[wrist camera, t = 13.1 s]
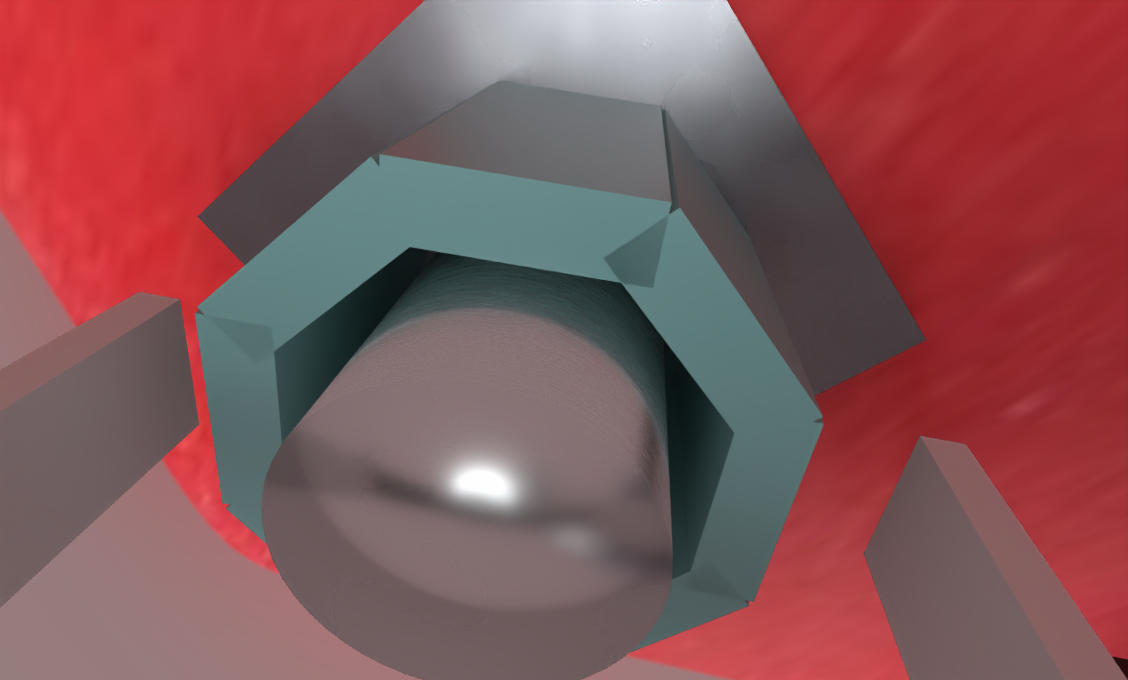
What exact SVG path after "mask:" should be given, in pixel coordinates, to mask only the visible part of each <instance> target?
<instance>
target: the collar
mask: <svg viewBox="0 0 1128 680" xmlns="http://www.w3.org/2000/svg"><path fill="white" fill-rule="evenodd" d="M425 250H431V251H437V252H443V253H448V254H454V255H460V256H466V257H472V258H478V259H484V260H490V261H496V262H501V263H507V264H513V265H519V266H525V267H531V268H537V269H543V270H548V271H554V272H560V273H566V274H572V275H578V276H584V277H590V278H596V279H601V280H607V281H613V282H619V283H622V284H623V286H624V287H625V288H626V290H627V291H628V292H629V294H630V295H631V296H632V298H633V299H634V300H635V302H636V303H637V304H638V305H639V307H640V308H641V309H642V311H643V312H644V313H645V315H646V316H647V317H648V319H649V320H650V321H651V323H652V324H653V325H654V327H655V328H656V329H657V331H658V332H659V333H660V335H661V336H662V337H663V339H664V340H665V341H666V343H667V344H668V345H669V347H670V348H671V349H672V350H671V351H670V352H668V353H666V354H664V367H665V390H666V413H667V436H668V459H669V482H670V504H671V527H672V550H673V570H672V581H671V586H670V591H669V596H668V598H667V601H666V603H665V606H664V608H663V611H662V613H661V615H660V617H659V618H658V620H657V622H656V623H655V625H654V626H653V628H652V630H651V631H650V632H649V633H648V634H647V636H646V637H645V638H644V639H643V640H642V641H641V642H640V644H639V645H638V646H637V647H635V648H634V649H633V650H632V651H635V650H638V649H640V648H643V647H645V646H648V645H650V644H653V643H655V642H658V641H660V640H663V639H666V638H668V637H671V636H673V635H676V634H678V633H681V632H683V631H686V630H689V629H691V628H694V627H696V626H699V625H701V624H704V623H706V622H709V621H711V620H714V619H717V618H719V617H722V616H724V615H727V614H729V613H732V612H734V611H737V610H740V609H742V608H745V607H747V606H749V602H748V601H752V602H754V600H755V597H756V594H757V592H758V589H759V587H760V584H761V582H762V579H763V577H764V574H765V572H766V569H767V567H768V564H769V562H770V559H771V557H772V554H773V551H774V549H775V546H776V544H777V541H778V539H779V536H780V534H781V531H782V529H783V526H784V524H785V521H786V519H787V516H788V514H789V511H790V509H791V506H792V503H793V501H794V498H795V496H796V493H797V491H798V488H799V486H800V483H801V481H802V478H803V476H804V473H805V471H806V468H807V466H808V463H809V460H810V458H811V455H812V453H813V450H814V448H815V445H816V443H817V440H818V438H819V435H820V433H821V430H822V428H823V425H824V423H823V420H822V417H823V415H822V413H821V410H820V408H819V405H818V403H817V400H816V398H815V396H814V393H813V391H812V388H811V386H810V383H809V381H808V379H807V376H806V374H805V371H804V369H803V366H802V364H801V362H800V359H799V357H798V354H797V352H796V349H795V347H794V345H793V342H792V340H791V337H790V335H789V332H788V330H787V328H786V325H785V323H784V320H783V318H782V315H781V313H780V310H779V308H778V306H777V303H776V301H775V298H774V296H773V293H772V291H771V289H770V286H769V284H768V281H767V279H766V276H765V274H764V272H763V269H762V267H761V264H760V262H759V259H758V257H757V255H756V252H755V250H754V247H753V245H752V242H751V240H750V238H749V236H748V234H747V233H746V231H745V230H744V228H743V227H742V225H741V224H740V222H739V220H738V219H737V217H736V216H735V214H734V213H733V211H732V210H731V208H730V207H729V205H728V204H727V202H726V201H725V199H724V198H723V196H722V195H721V193H720V192H719V190H718V188H717V187H716V185H715V184H714V182H713V181H712V179H711V178H710V176H709V175H708V173H707V172H706V170H705V169H704V167H703V166H702V164H701V163H700V161H699V160H698V158H697V156H696V155H695V153H694V152H693V150H692V149H691V147H690V146H689V144H688V143H687V141H686V140H685V138H684V137H683V135H682V134H681V132H680V131H679V129H678V128H677V126H676V124H675V123H674V121H673V120H672V118H671V117H670V115H669V114H668V112H667V111H666V109H665V110H663V111H661V106H657V105H651V104H645V103H639V102H632V101H626V100H620V99H614V98H607V97H601V96H595V95H589V94H582V93H576V92H570V91H564V90H557V89H551V88H545V87H539V86H533V85H526V84H520V83H514V82H508V81H499V82H497V83H496V82H495V83H493V84H491V85H490V86H488V87H486V88H485V89H483V90H481V91H480V92H478V93H476V94H475V95H473V96H471V97H470V98H468V99H466V100H465V101H463V102H461V103H459V104H458V105H456V106H454V107H453V108H451V109H449V110H448V111H446V112H444V113H443V114H441V115H439V116H438V117H436V118H434V119H433V120H431V121H429V122H428V123H426V124H424V125H423V126H421V127H419V128H418V129H416V130H414V131H413V132H411V133H409V134H408V135H406V136H404V137H403V138H401V139H399V140H398V141H396V142H394V143H393V144H391V145H389V146H387V147H386V148H384V149H382V150H381V151H379V152H377V153H376V154H374V155H372V156H371V157H370V158H368V159H367V160H366V161H365V162H364V163H363V164H362V165H360V166H359V167H358V168H357V169H356V170H355V171H353V172H352V173H351V174H350V175H349V176H348V177H346V178H345V179H344V180H343V181H342V182H341V183H340V184H338V185H337V186H336V187H335V188H334V189H333V190H331V191H330V192H329V193H328V194H327V195H326V196H325V197H323V198H322V199H321V200H320V201H319V202H318V203H316V204H315V205H314V206H313V207H312V208H311V209H310V210H308V211H307V212H306V213H305V214H304V215H303V216H301V217H300V218H299V219H298V220H297V221H296V222H295V223H293V224H292V225H291V226H290V227H289V228H288V229H286V230H285V231H284V232H283V233H282V234H281V235H279V236H278V237H277V238H276V239H275V240H274V241H273V242H271V243H270V244H269V245H268V246H267V247H266V248H264V249H263V250H262V251H261V252H260V253H259V254H258V255H256V256H255V257H254V258H253V259H252V260H251V261H249V262H248V263H247V264H246V265H245V266H244V267H243V268H241V269H240V270H239V271H238V272H237V273H236V274H234V275H233V276H232V277H231V278H230V279H229V280H228V281H226V282H225V283H224V284H223V285H222V286H221V287H219V288H218V289H217V290H216V291H215V292H214V293H212V294H211V295H210V296H209V297H208V298H207V299H206V300H204V301H203V302H202V303H201V304H200V305H199V306H197V308H198V309H199V311H197V312H196V313H195V319H196V325H197V332H198V339H199V346H200V353H201V360H202V366H203V373H204V380H205V387H206V394H207V400H208V407H209V414H210V421H211V428H212V435H213V441H214V448H215V455H216V462H217V469H218V476H219V482H220V489H221V496H222V503H224V504H229V505H228V506H227V508H226V509H227V510H228V511H229V512H231V513H232V514H233V515H234V516H235V517H236V518H237V519H239V520H240V521H241V522H242V523H243V524H244V525H246V526H247V527H248V528H249V529H250V530H251V531H253V532H254V533H255V534H256V535H257V536H258V537H259V538H261V539H262V540H263V541H264V542H265V543H266V539H265V534H264V529H263V524H262V506H261V500H262V493H263V487H264V481H265V478H266V475H267V472H268V469H269V467H270V464H271V461H272V460H273V458H274V456H275V454H276V453H277V451H278V449H279V448H280V446H281V444H282V443H283V442H284V440H285V439H286V438H287V437H288V435H289V434H290V433H291V432H292V430H293V429H294V428H295V427H296V426H297V424H298V423H299V422H300V421H301V419H302V418H303V417H304V416H305V414H306V413H307V412H308V411H309V409H310V408H311V407H312V406H313V404H314V403H315V402H316V401H317V400H318V398H319V397H320V396H321V395H322V393H323V392H324V391H325V390H326V388H327V387H328V386H329V385H330V383H331V382H332V381H333V380H334V379H335V377H336V376H337V375H338V374H339V372H340V371H341V370H342V369H343V367H344V366H345V365H346V364H347V362H348V361H349V360H350V359H351V358H352V356H353V355H354V354H355V353H356V351H357V350H358V349H359V348H360V346H361V345H362V344H363V343H364V341H365V340H366V339H367V338H368V337H369V335H370V334H371V333H372V332H373V330H374V329H375V328H376V327H377V325H378V324H379V323H380V322H381V320H382V319H383V318H384V317H385V315H386V314H387V313H388V312H389V311H390V309H391V308H392V307H393V306H394V304H395V303H396V302H397V301H398V299H399V298H400V297H401V296H402V294H403V293H404V292H405V291H406V290H407V288H408V287H409V286H410V285H411V283H412V282H413V281H414V280H415V278H416V277H417V276H418V275H419V273H420V272H421V271H422V270H423V269H424V267H425ZM266 544H267V543H266ZM632 651H631V652H632ZM629 653H630V652H629Z"/></svg>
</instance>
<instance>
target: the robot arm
mask: <svg viewBox="0 0 1128 680" xmlns="http://www.w3.org/2000/svg"><path fill="white" fill-rule="evenodd" d="M198 425H199V421H198V414H197V407H196V401H195V394H194V388H193V381H192V375H191V368H190V361H189V355H188V348H187V342H186V335H185V329H184V322H183V315H182V309H181V302H180V299H176V298H170V297H165V296H160V295H154V294H149V293H143V292H138V293H136V294H135V295H133V296H131V297H129V298H128V299H126V300H124V301H122V302H120V303H119V304H117V305H115V306H113V307H111V308H110V309H108V310H106V311H104V312H103V313H101V314H99V315H97V316H95V317H94V318H92V319H90V320H88V321H87V322H85V323H83V324H81V325H79V326H78V327H76V328H74V329H72V330H70V331H69V332H67V333H66V334H63V335H62V336H60V337H58V338H56V339H55V340H53V341H51V342H49V343H47V344H46V345H44V346H42V347H40V348H39V349H37V350H35V351H33V352H31V353H29V354H28V355H26V356H24V357H22V358H21V359H19V360H17V361H15V362H14V363H12V364H10V365H8V366H6V367H5V368H3V369H1V370H0V607H1V606H2V605H3V604H4V603H5V602H7V601H8V600H9V599H10V598H11V597H12V596H13V595H14V594H15V593H16V592H18V591H19V590H20V589H21V588H22V587H23V586H24V585H25V584H26V583H27V582H28V581H29V580H30V579H32V578H33V577H34V576H35V575H36V574H37V573H38V572H39V571H40V570H41V569H43V568H44V567H45V566H46V565H47V564H48V563H49V562H50V561H51V560H52V559H53V558H54V557H55V556H57V555H58V554H59V553H60V552H61V551H62V550H63V549H64V548H65V547H66V546H68V545H69V544H70V543H71V542H72V541H73V540H74V539H75V538H76V537H77V536H78V535H79V534H80V533H82V532H83V531H84V530H85V529H86V528H87V527H88V526H89V525H90V524H91V523H93V522H94V521H95V520H96V519H97V518H98V517H99V516H100V515H101V514H102V513H103V512H104V511H106V509H108V508H109V507H110V506H111V505H112V504H113V503H114V502H115V501H116V500H117V499H119V498H120V497H121V496H122V495H123V494H124V493H125V492H126V491H127V490H128V489H129V488H131V487H132V486H133V485H134V484H135V483H136V482H137V481H138V480H139V479H140V478H141V477H143V476H144V475H145V474H146V473H147V472H148V471H149V470H150V469H151V468H152V467H153V466H154V465H156V464H157V463H158V462H159V461H160V460H161V459H162V458H163V457H164V456H165V455H166V454H168V453H169V452H170V451H171V450H172V449H173V448H174V447H175V446H176V445H177V444H178V443H179V442H181V441H182V440H183V439H184V438H185V437H186V436H187V435H188V434H189V433H190V432H191V431H193V430H194V429H195V428H196V427H197V426H198ZM864 556H865V558H866V561H867V564H868V567H869V569H870V572H871V575H872V578H873V580H874V583H875V586H876V589H877V591H878V594H879V597H880V600H881V602H882V605H883V608H884V611H885V613H886V616H887V619H888V621H889V624H890V627H891V630H892V632H893V635H894V638H895V641H896V643H897V646H898V649H899V652H900V654H901V657H902V660H903V663H904V665H905V668H906V671H907V674H908V676H909V679H910V680H1128V660H1127V659H1122V658H1117V657H1112V656H1111V655H1110V653H1109V652H1108V650H1107V649H1106V648H1105V646H1104V645H1103V643H1102V642H1101V640H1100V639H1099V637H1098V636H1097V634H1096V633H1095V631H1094V630H1093V629H1092V627H1091V626H1090V624H1089V623H1088V621H1087V620H1086V618H1085V617H1084V615H1083V614H1082V612H1081V611H1080V610H1079V608H1078V607H1077V605H1076V604H1075V602H1074V601H1073V599H1072V598H1071V596H1070V595H1069V594H1068V592H1067V591H1066V589H1065V588H1064V586H1063V585H1062V583H1061V582H1060V580H1059V579H1058V577H1057V576H1056V575H1055V573H1054V572H1053V570H1052V569H1051V567H1050V566H1049V564H1048V563H1047V561H1046V560H1045V558H1044V557H1043V556H1042V554H1041V553H1040V551H1039V550H1038V548H1037V547H1036V545H1035V544H1034V542H1033V541H1032V540H1031V538H1030V537H1029V535H1028V534H1027V532H1026V531H1025V529H1024V528H1023V526H1022V525H1021V523H1020V522H1019V521H1018V519H1017V518H1016V516H1015V515H1014V513H1013V512H1012V510H1011V509H1010V507H1009V506H1008V504H1007V503H1006V502H1005V500H1004V499H1003V497H1002V496H1001V494H1000V493H999V491H998V490H997V488H996V487H995V486H994V484H993V483H992V481H991V480H990V478H989V477H988V475H987V474H986V472H985V471H984V469H983V468H982V467H981V465H980V464H979V462H978V461H977V459H976V458H975V456H974V455H973V453H972V452H971V450H970V449H969V448H968V446H967V445H966V444H963V443H957V442H952V441H946V440H941V439H935V438H930V437H925V436H920V437H919V439H918V441H917V443H916V445H915V448H914V450H913V452H912V454H911V456H910V458H909V460H908V462H907V464H906V466H905V468H904V471H903V473H902V475H901V477H900V479H899V481H898V483H897V485H896V487H895V489H894V491H893V494H892V496H891V498H890V500H889V502H888V504H887V506H886V508H885V510H884V512H883V514H882V516H881V519H880V521H879V523H878V525H877V527H876V529H875V531H874V533H873V535H872V537H871V539H870V542H869V544H868V546H867V548H866V550H865V552H864Z"/></svg>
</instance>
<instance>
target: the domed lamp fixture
mask: <svg viewBox="0 0 1128 680" xmlns="http://www.w3.org/2000/svg"><path fill="white" fill-rule="evenodd" d="M499 81H508V82H514V83H520V84H526V85H533V86H539V87H545V88H551V89H557V90H564V91H570V92H576V93H582V94H589V95H595V96H601V97H607V98H614V99H620V100H626V101H632V102H639V103H645V104H651V105H657V106H661V111H663V110H665V109H666V111H667V112H668V114H669V115H670V117H671V118H672V120H673V121H674V123H675V124H676V126H677V128H678V129H679V131H680V132H681V134H682V135H683V137H684V138H685V140H686V141H687V143H688V144H689V146H690V147H691V149H692V150H693V152H694V153H695V155H696V156H697V158H698V160H699V161H700V163H701V164H702V166H703V167H704V169H705V170H706V172H707V173H708V175H709V176H710V178H711V179H712V181H713V182H714V184H715V185H716V187H717V188H718V190H719V192H720V193H721V195H722V196H723V198H724V199H725V201H726V202H727V204H728V205H729V207H730V208H731V210H732V211H733V213H734V214H735V216H736V217H737V219H738V220H739V222H740V224H741V225H742V227H743V228H744V230H745V231H746V233H747V234H748V236H749V238H750V240H751V242H752V245H753V247H754V250H755V252H756V255H757V257H758V259H759V262H760V264H761V267H762V269H763V272H764V274H765V276H766V279H767V281H768V284H769V286H770V289H771V291H772V293H773V296H774V298H775V301H776V303H777V306H778V308H779V310H780V313H781V315H782V318H783V320H784V323H785V325H786V328H787V330H788V332H789V335H790V337H791V340H792V342H793V345H794V347H795V349H796V352H797V354H798V357H799V359H800V362H801V364H802V366H803V369H804V371H805V374H806V376H807V379H808V381H809V383H810V386H811V388H812V391H813V393H814V396H815V395H817V394H819V393H821V392H823V391H825V390H827V389H829V388H831V387H833V386H835V385H837V384H839V383H841V382H843V381H845V380H847V379H849V378H851V377H853V376H855V375H857V374H859V373H861V372H863V371H865V370H867V369H869V368H871V367H873V366H875V365H877V364H879V363H881V362H883V361H885V360H887V359H889V358H891V357H893V356H895V355H897V354H899V353H901V352H903V351H905V350H907V349H909V348H911V347H913V346H915V345H917V344H919V343H921V342H923V341H925V340H926V339H925V337H924V335H923V334H922V332H921V330H920V328H919V327H918V325H917V323H916V322H915V320H914V318H913V317H912V315H911V313H910V311H909V310H908V308H907V306H906V305H905V303H904V301H903V300H902V298H901V296H900V294H899V293H898V291H897V289H896V288H895V286H894V284H893V283H892V281H891V279H890V277H889V276H888V274H887V272H886V271H885V269H884V267H883V266H882V264H881V262H880V260H879V259H878V257H877V255H876V254H875V252H874V250H873V249H872V247H871V245H870V243H869V242H868V240H867V238H866V237H865V235H864V233H863V232H862V230H861V228H860V226H859V225H858V223H857V221H856V220H855V218H854V216H853V215H852V213H851V211H850V209H849V208H848V206H847V204H846V203H845V201H844V199H843V198H842V196H841V194H840V192H839V191H838V189H837V187H836V186H835V184H834V182H833V181H832V179H831V177H830V175H829V174H828V172H827V170H826V169H825V167H824V165H823V164H822V162H821V160H820V158H819V157H818V155H817V153H816V152H815V150H814V148H813V147H812V145H811V143H810V141H809V140H808V138H807V136H806V135H805V133H804V131H803V130H802V128H801V126H800V124H799V123H798V121H797V119H796V118H795V116H794V114H793V113H792V111H791V109H790V107H789V106H788V104H787V102H786V101H785V99H784V97H783V96H782V94H781V92H780V90H779V89H778V87H777V85H776V84H775V82H774V80H773V79H772V77H771V75H770V73H769V72H768V70H767V68H766V67H765V65H764V63H763V62H762V60H761V58H760V56H759V55H758V53H757V51H756V50H755V48H754V46H753V45H752V43H751V41H750V39H749V38H748V36H747V34H746V33H745V31H744V29H743V28H742V26H741V24H740V22H739V21H738V19H737V17H736V16H735V14H734V12H733V11H732V9H731V7H730V5H729V4H728V2H727V0H425V1H424V2H423V3H422V4H421V5H419V6H418V7H417V8H416V9H415V10H414V11H413V12H412V13H411V14H410V15H409V16H408V17H407V18H406V19H405V20H404V21H403V22H402V23H401V24H399V25H398V26H397V27H396V28H395V29H394V30H393V31H392V32H391V33H390V34H389V35H388V36H387V37H386V38H385V39H384V40H383V41H382V42H381V43H380V44H378V45H377V46H376V47H375V48H374V49H373V50H372V51H371V52H370V53H369V54H368V55H367V56H366V57H365V58H364V59H363V60H362V61H361V62H360V63H358V64H357V65H356V66H355V67H354V68H353V69H352V70H351V71H350V72H349V73H348V74H347V75H346V76H345V77H344V78H343V79H342V80H341V81H340V82H338V83H337V84H336V85H335V86H334V87H333V88H332V89H331V90H330V91H329V92H328V93H327V94H326V95H325V96H324V97H323V98H322V99H321V100H320V101H319V102H317V103H316V104H315V105H314V106H313V107H312V108H311V109H310V110H309V111H308V112H307V113H306V114H305V115H304V116H303V117H302V118H301V119H300V120H299V121H297V122H296V123H295V124H294V125H293V126H292V127H291V128H290V129H289V130H288V131H287V132H286V133H285V134H284V135H283V136H282V137H281V138H280V139H279V140H278V141H276V142H275V143H274V144H273V145H272V146H271V147H270V148H269V149H268V150H267V151H266V152H265V153H264V154H263V155H262V156H261V157H260V158H259V159H258V160H256V161H255V162H254V163H253V164H252V165H251V166H250V167H249V168H248V169H247V170H246V171H245V172H244V173H243V174H242V175H241V176H240V177H239V178H238V179H237V180H235V181H234V182H233V183H232V184H231V185H230V186H229V187H228V188H227V189H226V190H225V191H224V192H223V193H222V194H221V195H220V196H219V197H218V198H217V199H215V200H214V201H213V202H212V203H211V204H210V205H209V206H208V207H207V208H206V209H205V210H204V211H203V212H202V213H201V214H200V215H199V216H198V218H199V219H200V220H201V221H202V222H203V223H204V224H205V225H206V226H207V227H208V228H209V229H210V230H211V231H212V232H213V233H214V234H215V235H216V236H217V237H218V238H219V239H220V240H221V241H222V242H223V243H224V244H225V245H226V246H227V247H228V248H229V249H230V250H231V251H232V252H233V253H234V254H235V255H236V256H237V258H238V259H239V260H240V261H241V262H242V263H243V264H244V265H246V264H247V263H248V262H249V261H251V260H252V259H253V258H254V257H255V256H256V255H258V254H259V253H260V252H261V251H262V250H263V249H264V248H266V247H267V246H268V245H269V244H270V243H271V242H273V241H274V240H275V239H276V238H277V237H278V236H279V235H281V234H282V233H283V232H284V231H285V230H286V229H288V228H289V227H290V226H291V225H292V224H293V223H295V222H296V221H297V220H298V219H299V218H300V217H301V216H303V215H304V214H305V213H306V212H307V211H308V210H310V209H311V208H312V207H313V206H314V205H315V204H316V203H318V202H319V201H320V200H321V199H322V198H323V197H325V196H326V195H327V194H328V193H329V192H330V191H331V190H333V189H334V188H335V187H336V186H337V185H338V184H340V183H341V182H342V181H343V180H344V179H345V178H346V177H348V176H349V175H350V174H351V173H352V172H353V171H355V170H356V169H357V168H358V167H359V166H360V165H362V164H363V163H364V162H365V161H366V160H367V159H368V158H370V157H371V156H372V155H374V154H376V153H377V152H379V151H381V150H382V149H384V148H386V147H387V146H389V145H391V144H393V143H394V142H396V141H398V140H399V139H401V138H403V137H404V136H406V135H408V134H409V133H411V132H413V131H414V130H416V129H418V128H419V127H421V126H423V125H424V124H426V123H428V122H429V121H431V120H433V119H434V118H436V117H438V116H439V115H441V114H443V113H444V112H446V111H448V110H449V109H451V108H453V107H454V106H456V105H458V104H459V103H461V102H463V101H465V100H466V99H468V98H470V97H471V96H473V95H475V94H476V93H478V92H480V91H481V90H483V89H485V88H486V87H488V86H490V85H491V84H493V83H495V82H496V83H497V82H499ZM671 350H672V349H671V348H670V347H669V345H668V344H667V343H666V341H665V340H664V339H663V337H662V336H661V335H660V333H659V332H658V331H657V329H656V328H655V327H654V325H653V324H652V323H651V321H650V320H649V319H648V317H647V316H646V315H645V313H644V312H643V311H642V309H641V308H640V307H639V305H638V304H637V303H636V302H635V300H634V299H633V298H632V296H631V295H630V294H629V292H628V291H627V290H626V288H625V287H624V286H623V284H622V283H619V282H613V281H607V280H601V279H596V278H590V277H584V276H578V275H572V274H566V273H560V272H554V271H548V270H543V269H537V268H531V267H525V266H519V265H513V264H507V263H501V262H496V261H490V260H484V259H478V258H472V257H466V256H460V255H454V254H448V253H443V252H437V251H431V250H425V267H424V269H423V270H422V271H421V272H420V273H419V275H418V276H417V277H416V278H415V280H414V281H413V282H412V283H411V285H410V286H409V287H408V288H407V290H406V291H405V292H404V293H403V294H402V296H401V297H400V298H399V299H398V301H397V302H396V303H395V304H394V306H393V307H392V308H391V309H390V311H389V312H388V313H387V314H386V315H385V317H384V318H383V319H382V320H381V322H380V323H379V324H378V325H377V327H376V328H375V329H374V330H373V332H372V333H371V334H370V335H369V337H368V338H367V339H366V340H365V341H364V343H363V344H362V345H361V346H360V348H359V349H358V350H357V351H356V353H355V354H354V355H353V356H352V358H351V359H350V360H349V361H348V362H347V364H346V365H345V366H344V367H343V369H342V370H341V371H340V372H339V374H338V375H337V376H336V377H335V379H334V380H333V381H332V382H331V383H330V385H329V386H328V387H327V388H326V390H325V391H324V392H323V393H322V395H321V396H320V397H319V398H318V400H317V401H316V402H315V403H314V404H313V406H312V407H311V408H310V409H309V411H308V412H307V413H306V414H305V416H304V417H303V418H302V419H301V421H300V422H299V423H298V424H297V426H296V427H295V428H294V429H293V430H292V432H291V433H290V434H289V435H288V437H287V438H286V439H285V440H284V442H283V443H282V444H281V446H280V448H279V449H278V451H277V453H276V454H275V456H274V458H273V460H272V461H271V464H270V467H269V469H268V472H267V475H266V478H265V481H264V487H263V493H262V500H261V506H262V524H263V529H264V534H265V539H266V543H267V546H268V548H269V551H270V554H271V557H272V559H273V562H274V563H275V565H276V567H277V569H278V571H279V573H280V575H281V577H282V579H283V580H284V582H285V583H286V585H287V586H288V587H289V589H290V590H291V592H292V593H293V595H294V596H295V597H296V598H297V599H298V601H299V602H300V603H301V604H302V605H303V606H304V608H305V609H306V610H307V611H308V612H309V613H310V614H311V615H312V616H313V617H314V618H315V619H316V620H318V622H320V623H321V624H322V625H323V626H324V627H325V628H326V629H327V630H329V631H330V632H332V633H333V634H334V635H335V636H337V637H338V638H339V639H340V640H342V641H343V642H345V643H346V644H348V645H349V646H351V647H353V648H354V649H356V650H357V651H359V652H360V653H362V654H364V655H365V656H367V657H369V658H371V659H373V660H375V661H377V662H379V663H381V664H383V665H385V666H388V667H390V668H392V669H395V670H397V671H399V672H402V673H404V674H407V675H410V676H413V677H416V678H419V679H422V680H581V679H584V678H586V677H589V676H591V675H593V674H595V673H597V672H600V671H602V670H604V669H606V668H608V667H609V666H611V665H612V664H614V663H616V662H617V661H619V660H620V659H622V658H623V657H625V656H626V655H627V654H628V653H629V652H631V651H632V650H633V649H634V648H635V647H637V646H638V645H639V644H640V642H641V641H642V640H643V639H644V638H645V637H646V636H647V634H648V633H649V632H650V631H651V630H652V628H653V626H654V625H655V623H656V622H657V620H658V618H659V617H660V615H661V613H662V611H663V608H664V606H665V603H666V601H667V598H668V596H669V591H670V586H671V581H672V570H673V550H672V527H671V504H670V482H669V459H668V436H667V413H666V390H665V367H664V354H666V353H668V352H670V351H671Z"/></svg>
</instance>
